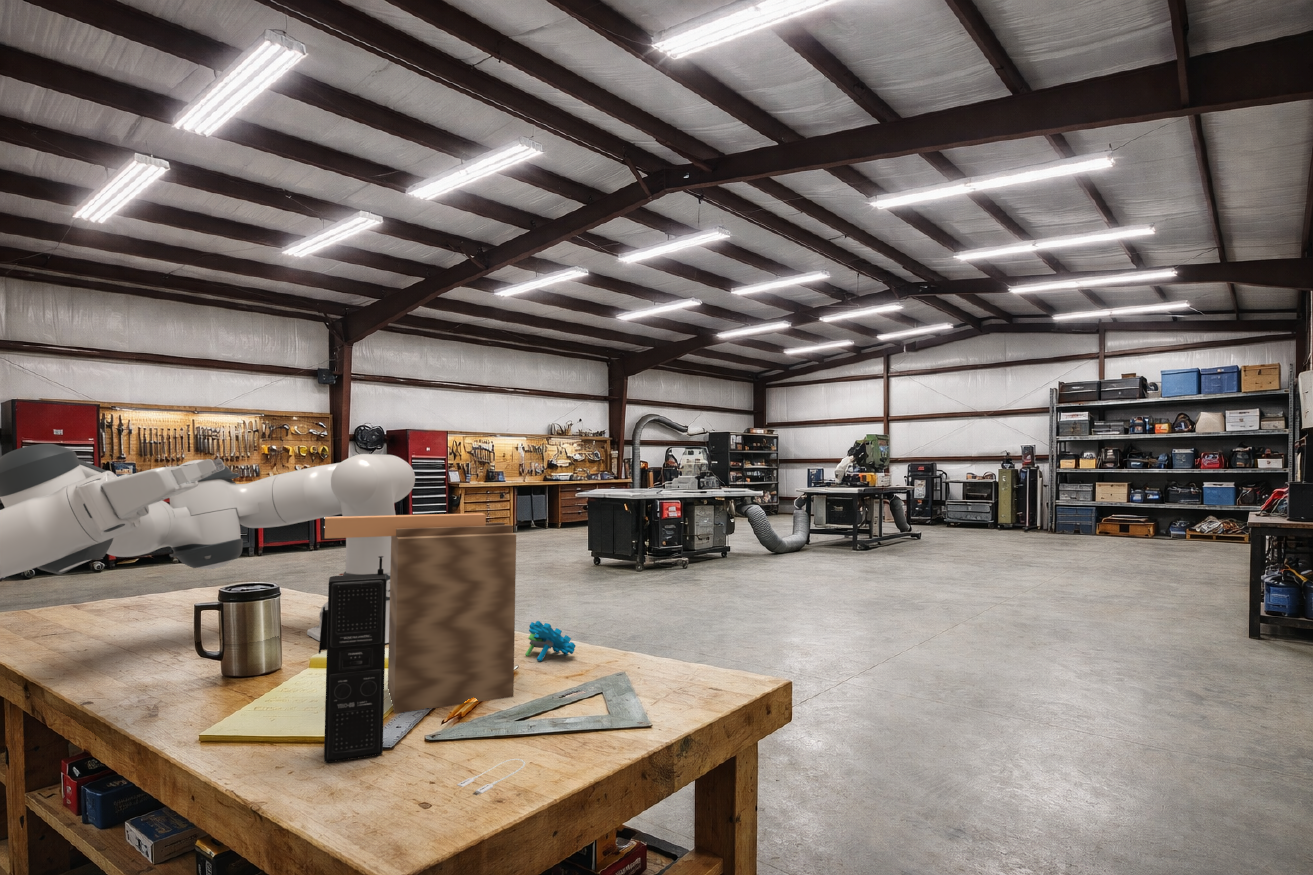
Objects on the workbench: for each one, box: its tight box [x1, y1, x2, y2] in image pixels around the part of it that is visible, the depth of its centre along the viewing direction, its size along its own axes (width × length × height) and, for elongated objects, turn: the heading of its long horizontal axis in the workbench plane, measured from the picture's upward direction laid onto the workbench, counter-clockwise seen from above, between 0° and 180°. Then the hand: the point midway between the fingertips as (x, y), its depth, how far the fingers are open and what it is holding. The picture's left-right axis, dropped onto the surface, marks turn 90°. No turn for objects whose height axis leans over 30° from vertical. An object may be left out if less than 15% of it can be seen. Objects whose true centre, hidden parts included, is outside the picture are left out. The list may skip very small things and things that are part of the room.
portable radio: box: [318, 556, 387, 764], centre depth 90 cm, size 8×6×25 cm
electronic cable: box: [456, 758, 526, 796], centre depth 83 cm, size 4×10×1 cm, turn 150°
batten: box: [324, 512, 487, 539], centre depth 110 cm, size 24×3×3 cm, turn 116°
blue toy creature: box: [525, 620, 576, 663], centre depth 132 cm, size 11×6×10 cm
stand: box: [387, 521, 517, 714], centre depth 113 cm, size 18×12×27 cm, turn 116°
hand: (218, 463), depth 101 cm, fingers open, 8 cm apart
